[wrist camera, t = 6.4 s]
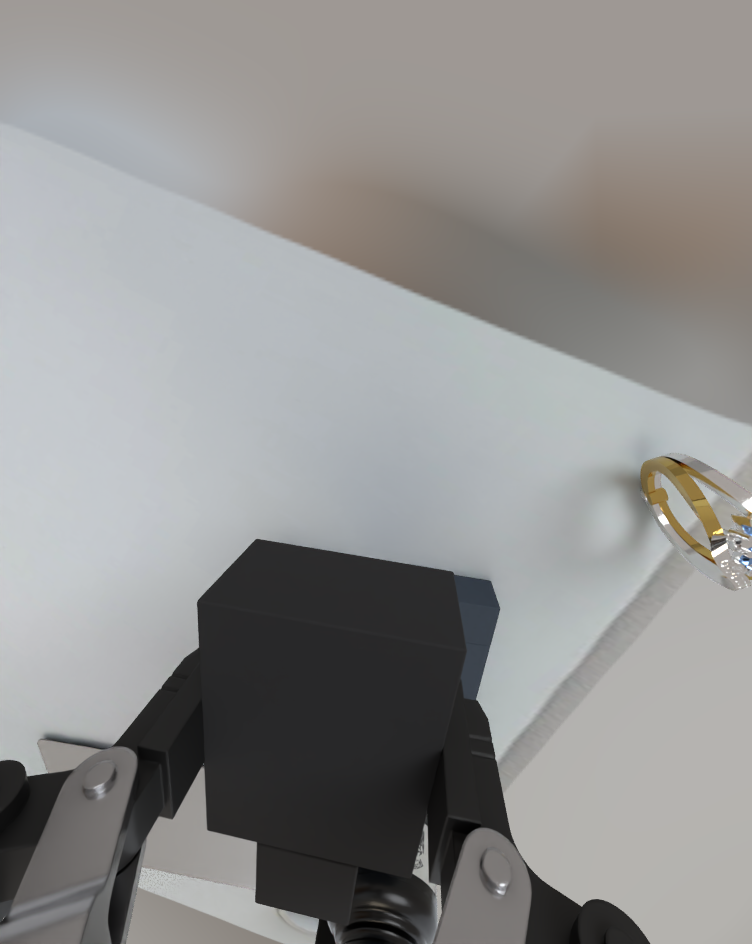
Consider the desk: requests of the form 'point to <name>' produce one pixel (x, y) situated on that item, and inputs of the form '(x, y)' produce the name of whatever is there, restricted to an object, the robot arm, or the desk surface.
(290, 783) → the pad tile
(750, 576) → the ring
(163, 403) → the desk surface
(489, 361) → the desk surface
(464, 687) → the pad mat
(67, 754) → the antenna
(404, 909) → the ink bottle
